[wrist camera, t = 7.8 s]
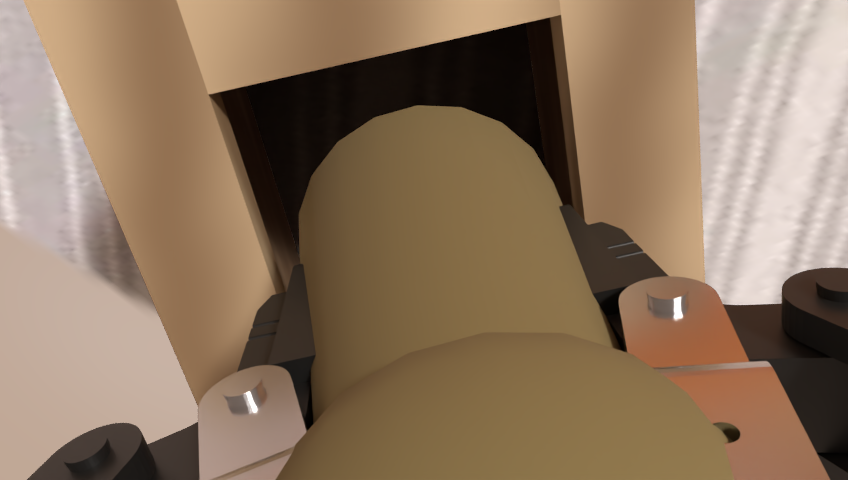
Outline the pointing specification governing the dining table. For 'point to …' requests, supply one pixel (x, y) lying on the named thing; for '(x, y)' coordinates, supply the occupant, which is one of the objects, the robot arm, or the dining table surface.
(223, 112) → the walnut box
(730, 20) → the dining table surface
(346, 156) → the olive pawn
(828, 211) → the dining table surface
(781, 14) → the dining table surface
